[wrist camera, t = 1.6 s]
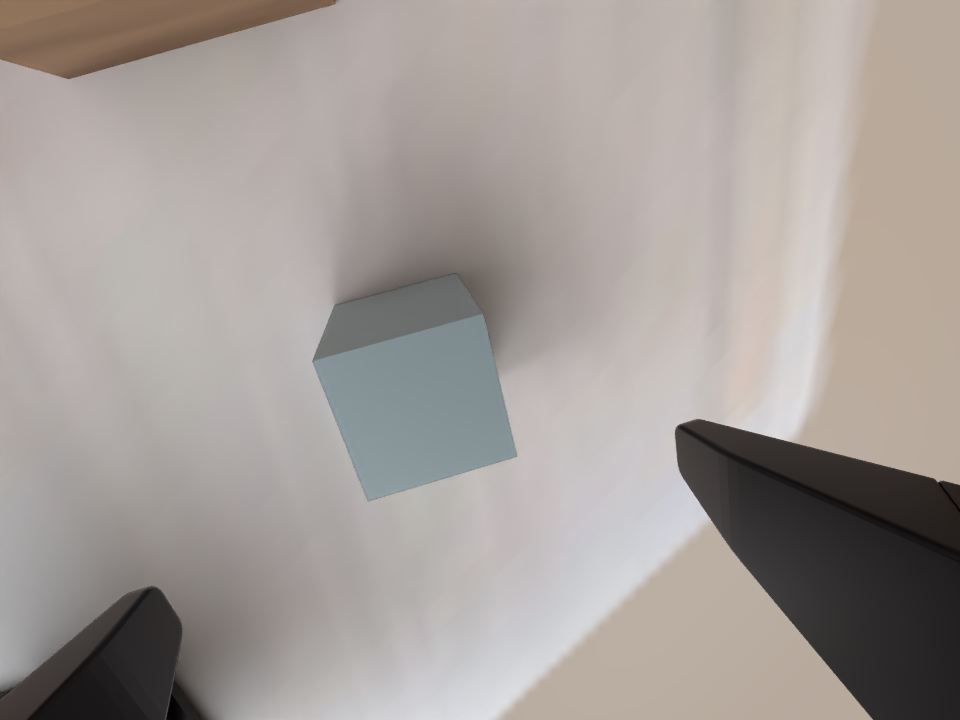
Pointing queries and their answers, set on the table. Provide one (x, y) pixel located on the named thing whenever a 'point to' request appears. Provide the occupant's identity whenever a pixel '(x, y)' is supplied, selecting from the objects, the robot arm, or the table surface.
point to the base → (123, 28)
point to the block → (414, 386)
